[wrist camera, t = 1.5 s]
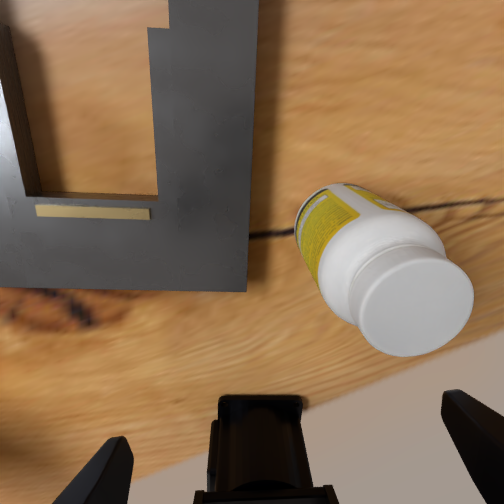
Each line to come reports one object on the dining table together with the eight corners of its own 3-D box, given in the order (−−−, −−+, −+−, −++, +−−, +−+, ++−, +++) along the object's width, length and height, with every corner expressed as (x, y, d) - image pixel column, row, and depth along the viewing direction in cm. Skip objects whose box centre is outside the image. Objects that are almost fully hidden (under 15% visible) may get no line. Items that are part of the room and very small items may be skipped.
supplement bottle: (298, 271, 21) (343, 384, 12) (287, 190, 19) (331, 252, 10) (380, 257, 21) (489, 359, 12) (378, 173, 19) (506, 221, 10)
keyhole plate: (268, -280, 12) (273, -339, 11) (245, 281, 21) (246, 293, 20) (-207, -333, 11) (-278, -405, 10) (-23, 274, 20) (-45, 287, 19)
